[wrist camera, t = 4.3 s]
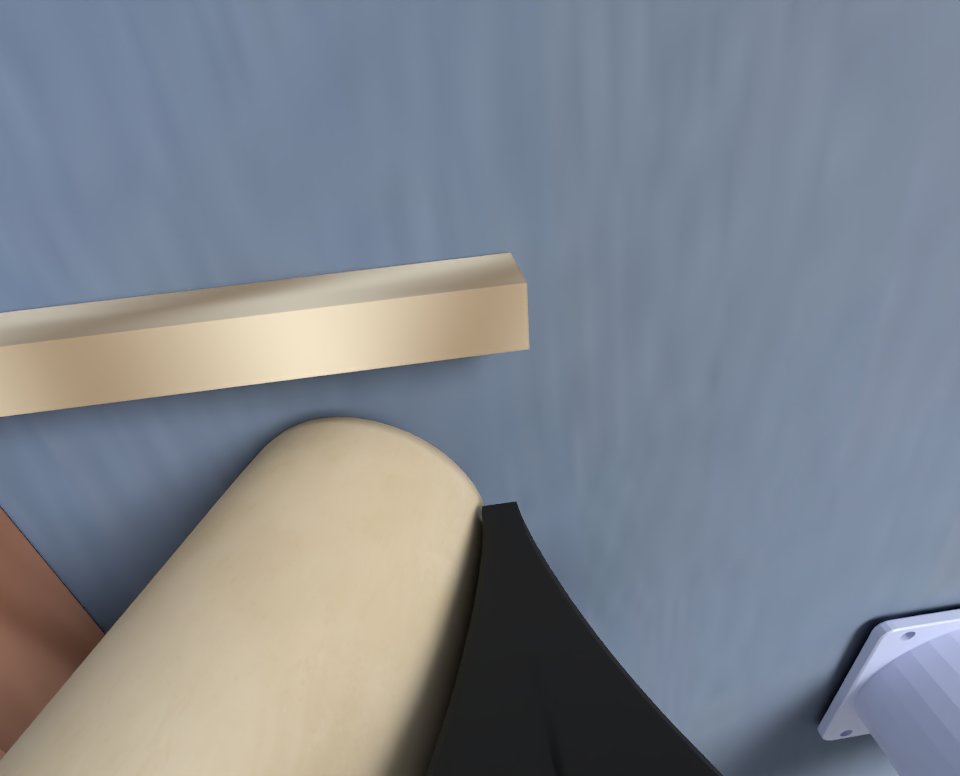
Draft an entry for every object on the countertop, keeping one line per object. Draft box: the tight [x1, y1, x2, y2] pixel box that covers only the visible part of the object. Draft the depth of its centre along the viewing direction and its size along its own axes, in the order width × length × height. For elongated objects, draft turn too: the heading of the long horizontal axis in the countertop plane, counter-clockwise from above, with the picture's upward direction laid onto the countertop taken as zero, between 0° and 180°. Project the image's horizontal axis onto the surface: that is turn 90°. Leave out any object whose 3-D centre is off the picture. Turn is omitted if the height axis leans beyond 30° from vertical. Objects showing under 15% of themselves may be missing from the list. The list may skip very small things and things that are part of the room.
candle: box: [0, 417, 485, 776], centre depth 7 cm, size 6×6×10 cm
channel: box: [0, 253, 529, 760], centre depth 11 cm, size 13×11×3 cm
